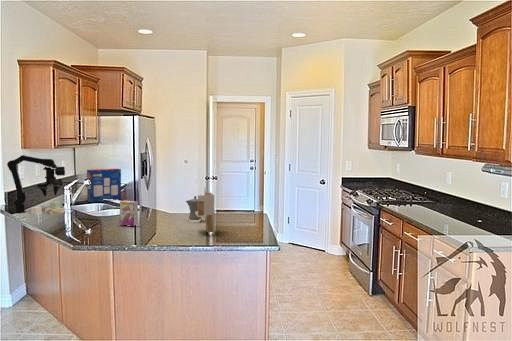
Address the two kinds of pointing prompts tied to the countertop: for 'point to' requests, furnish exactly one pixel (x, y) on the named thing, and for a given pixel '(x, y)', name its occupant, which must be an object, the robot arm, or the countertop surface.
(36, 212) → the white cube
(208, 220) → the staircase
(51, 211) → the birch block
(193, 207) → the coffeepot
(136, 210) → the candy bar box
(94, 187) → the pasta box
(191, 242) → the countertop surface
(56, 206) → the sage cube
